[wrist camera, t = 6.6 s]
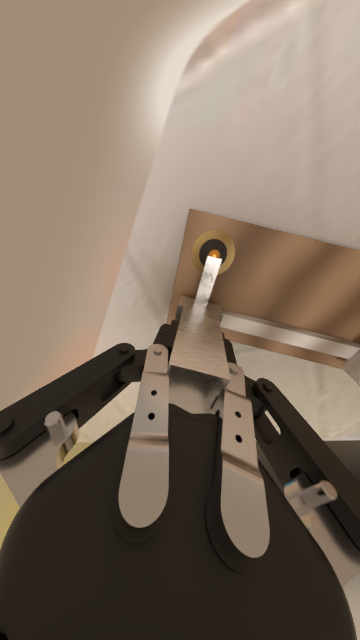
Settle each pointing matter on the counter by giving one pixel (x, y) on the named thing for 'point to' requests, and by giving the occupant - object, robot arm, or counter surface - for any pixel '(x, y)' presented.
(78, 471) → the robot arm
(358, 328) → the plate
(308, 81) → the counter surface
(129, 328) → the counter surface
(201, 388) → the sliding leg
